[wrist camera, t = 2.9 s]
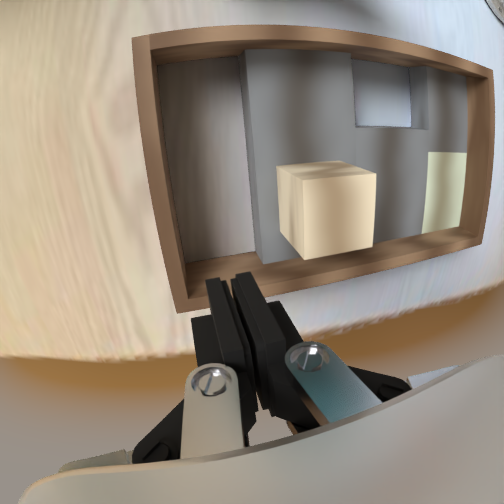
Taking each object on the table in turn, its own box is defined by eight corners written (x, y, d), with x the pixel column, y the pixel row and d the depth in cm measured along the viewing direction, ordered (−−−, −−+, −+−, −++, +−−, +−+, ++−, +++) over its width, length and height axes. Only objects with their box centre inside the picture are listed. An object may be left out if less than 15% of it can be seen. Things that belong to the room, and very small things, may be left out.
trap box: (454, 69, 23) (492, 70, 18) (448, 225, 31) (481, 244, 26) (142, 55, 18) (131, 37, 13) (175, 275, 26) (176, 313, 21)
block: (339, 160, 22) (376, 173, 18) (339, 222, 24) (372, 246, 20) (276, 165, 21) (302, 180, 17) (280, 231, 24) (304, 260, 19)
